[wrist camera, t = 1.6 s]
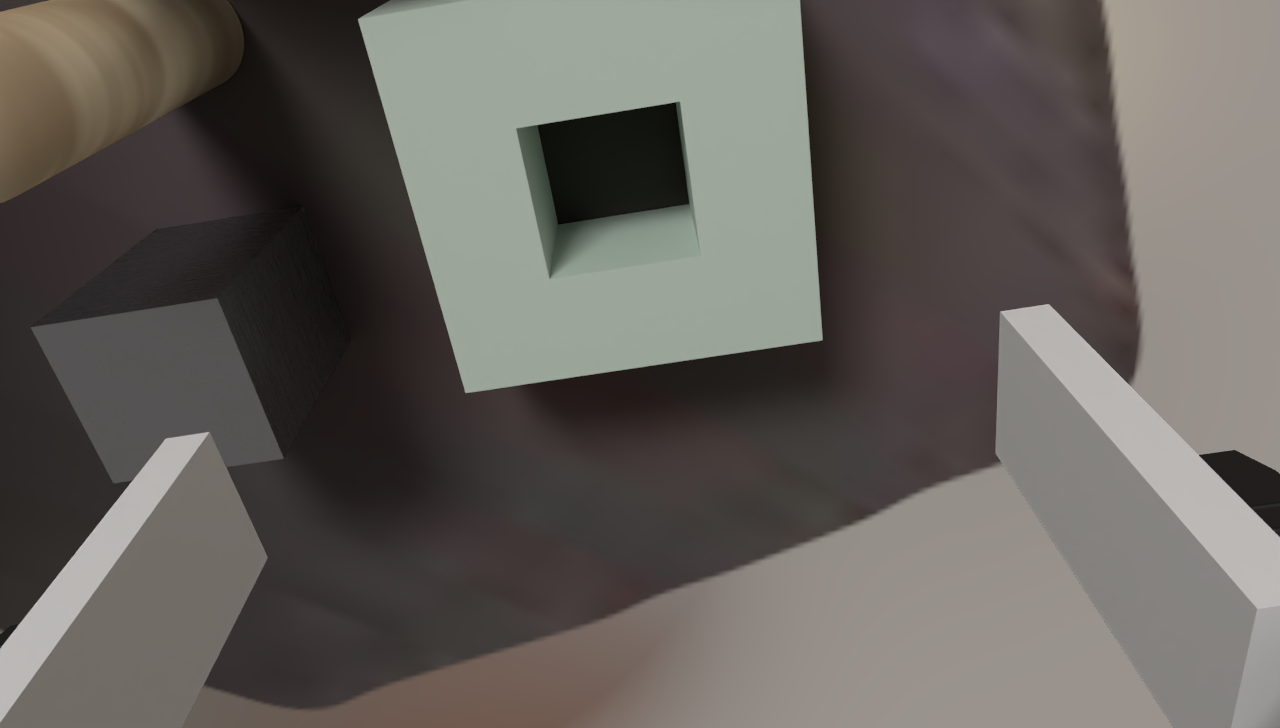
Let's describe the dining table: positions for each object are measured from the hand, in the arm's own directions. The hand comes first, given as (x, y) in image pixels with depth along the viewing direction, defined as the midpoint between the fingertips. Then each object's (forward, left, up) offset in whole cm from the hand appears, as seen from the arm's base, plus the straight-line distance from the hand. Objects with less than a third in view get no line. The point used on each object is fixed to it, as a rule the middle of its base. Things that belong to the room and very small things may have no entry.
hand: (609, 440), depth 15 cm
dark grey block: (-14, -3, -19) cm, 24 cm away
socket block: (0, 0, -19) cm, 19 cm away
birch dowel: (-13, +6, -19) cm, 24 cm away
